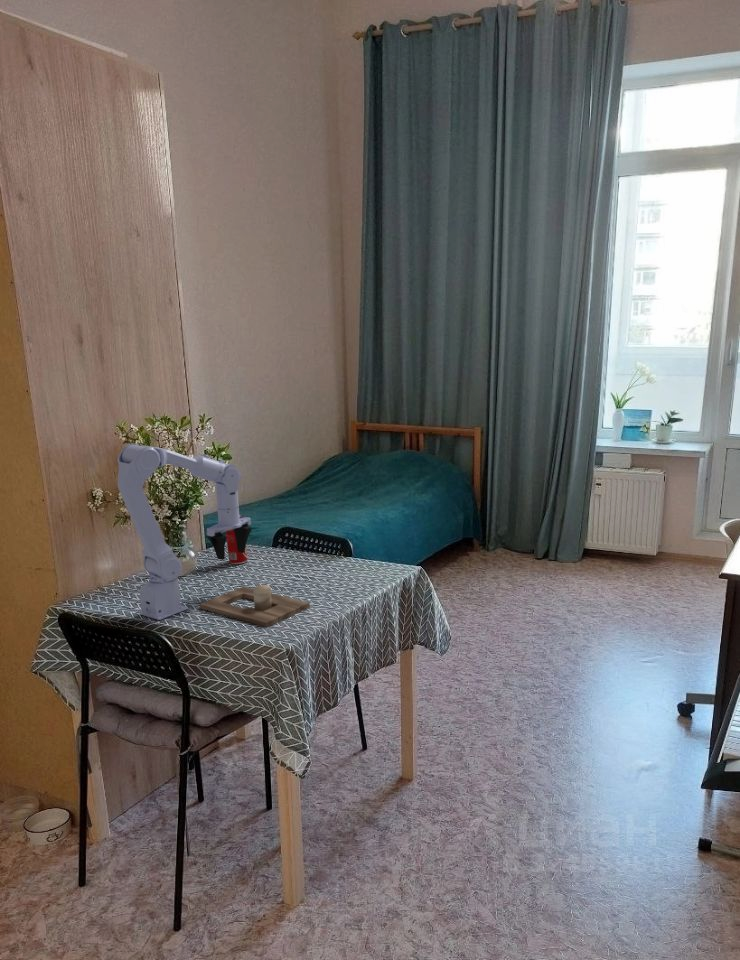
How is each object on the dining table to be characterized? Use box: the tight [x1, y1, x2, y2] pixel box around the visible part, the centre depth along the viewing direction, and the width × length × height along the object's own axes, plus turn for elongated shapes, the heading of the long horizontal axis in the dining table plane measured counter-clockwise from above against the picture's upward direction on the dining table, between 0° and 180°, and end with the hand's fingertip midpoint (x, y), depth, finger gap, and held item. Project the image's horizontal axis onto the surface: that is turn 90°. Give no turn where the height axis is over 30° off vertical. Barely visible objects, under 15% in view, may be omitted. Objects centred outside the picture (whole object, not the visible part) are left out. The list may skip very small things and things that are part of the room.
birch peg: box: [252, 584, 272, 611], centre depth 190 cm, size 4×4×6 cm
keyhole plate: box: [199, 586, 310, 628], centre depth 192 cm, size 16×24×1 cm, turn 54°
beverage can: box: [224, 514, 249, 565], centre depth 231 cm, size 6×6×15 cm
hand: (231, 555), depth 203 cm, fingers open, 7 cm apart
